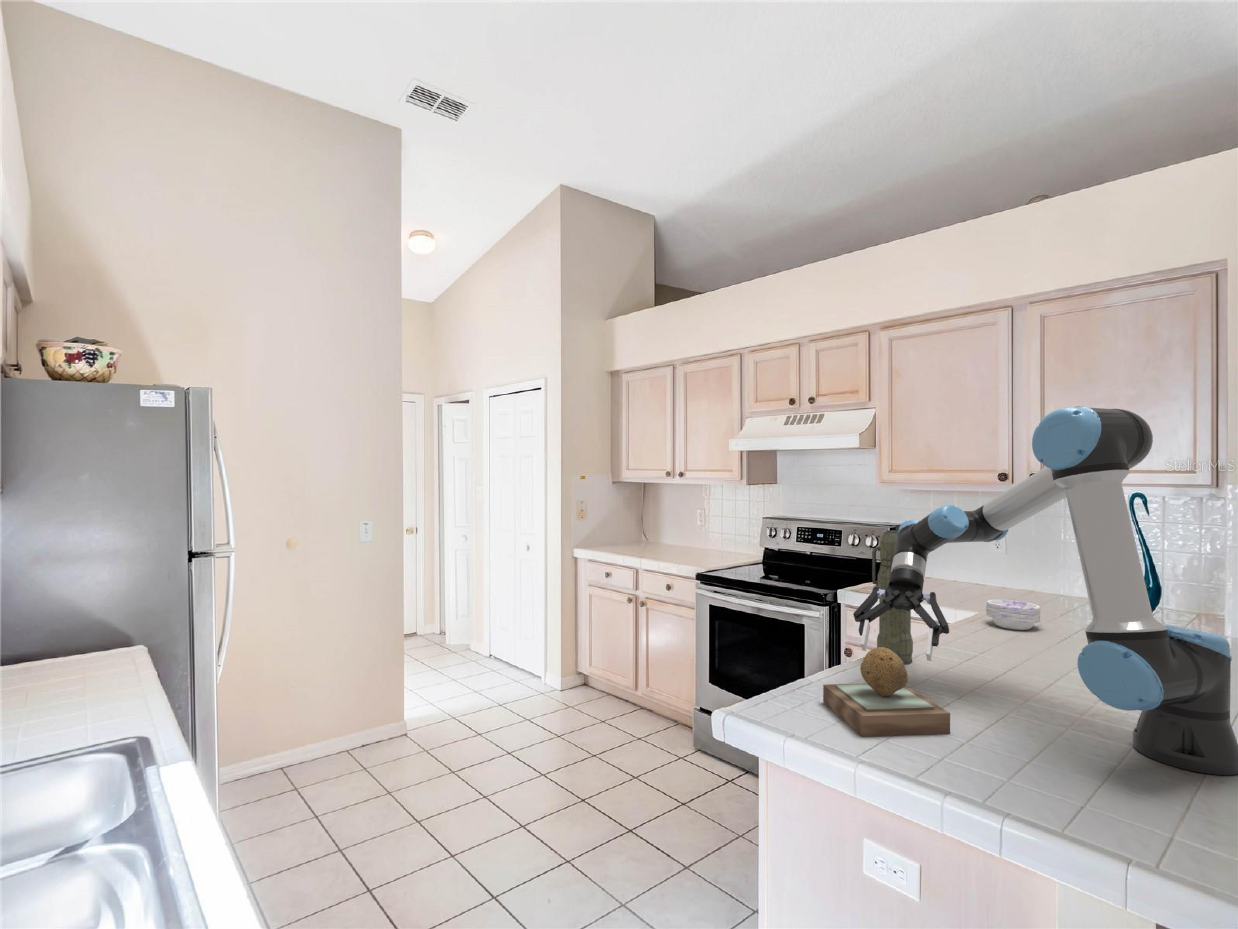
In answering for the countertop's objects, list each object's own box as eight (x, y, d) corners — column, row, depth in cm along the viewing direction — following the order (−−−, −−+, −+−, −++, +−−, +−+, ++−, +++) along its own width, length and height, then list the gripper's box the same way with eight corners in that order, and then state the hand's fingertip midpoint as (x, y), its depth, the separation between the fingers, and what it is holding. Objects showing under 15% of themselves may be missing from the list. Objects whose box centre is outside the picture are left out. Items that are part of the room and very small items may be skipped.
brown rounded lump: (849, 691, 136) (850, 644, 136) (881, 685, 139) (881, 639, 139) (883, 705, 127) (883, 655, 127) (915, 699, 131) (915, 650, 131)
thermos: (917, 667, 167) (918, 533, 167) (869, 660, 172) (870, 531, 173) (920, 659, 174) (920, 531, 175) (874, 652, 180) (874, 528, 180)
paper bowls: (1029, 623, 217) (1030, 599, 217) (1048, 634, 202) (1048, 609, 202) (980, 620, 220) (980, 597, 221) (994, 631, 206) (994, 606, 206)
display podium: (950, 733, 125) (950, 710, 125) (862, 736, 123) (862, 713, 123) (900, 700, 143) (900, 680, 143) (823, 702, 141) (823, 682, 141)
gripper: (966, 590, 150) (959, 671, 137) (856, 580, 164) (840, 652, 151) (964, 571, 146) (956, 652, 133) (851, 561, 159) (834, 634, 147)
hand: (894, 652), depth 142 cm, fingers open, 13 cm apart
